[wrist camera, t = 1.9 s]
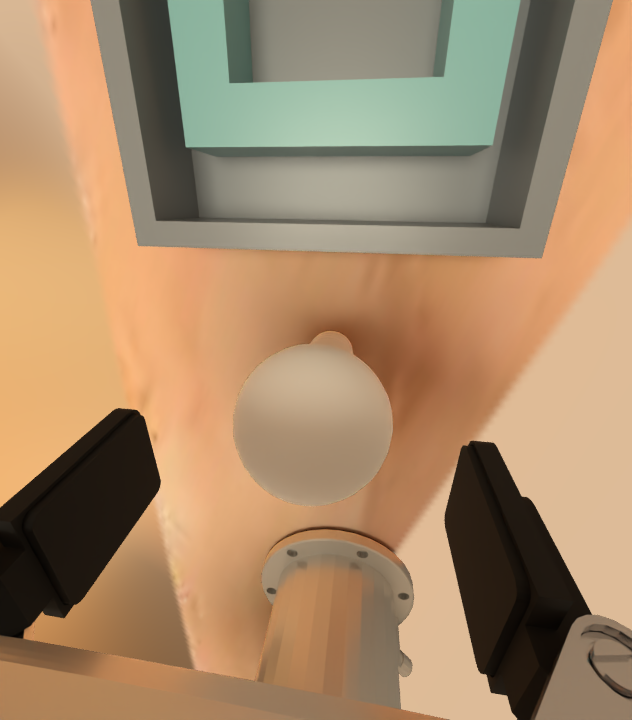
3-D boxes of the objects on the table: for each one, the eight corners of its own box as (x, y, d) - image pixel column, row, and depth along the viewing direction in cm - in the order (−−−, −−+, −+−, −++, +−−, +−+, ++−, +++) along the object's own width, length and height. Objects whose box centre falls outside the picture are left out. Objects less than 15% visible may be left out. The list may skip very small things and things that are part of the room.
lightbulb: (363, 279, 19) (357, 363, 9) (397, 374, 21) (424, 529, 11) (265, 317, 20) (169, 423, 11) (306, 401, 22) (257, 557, 13)
